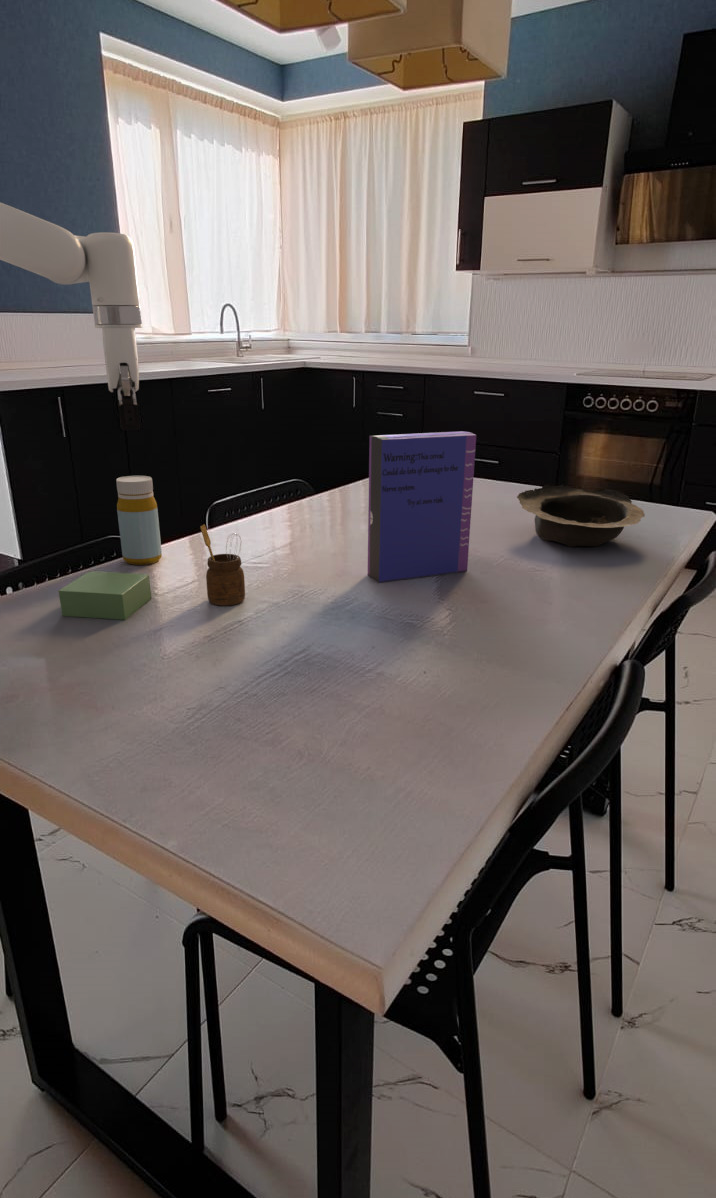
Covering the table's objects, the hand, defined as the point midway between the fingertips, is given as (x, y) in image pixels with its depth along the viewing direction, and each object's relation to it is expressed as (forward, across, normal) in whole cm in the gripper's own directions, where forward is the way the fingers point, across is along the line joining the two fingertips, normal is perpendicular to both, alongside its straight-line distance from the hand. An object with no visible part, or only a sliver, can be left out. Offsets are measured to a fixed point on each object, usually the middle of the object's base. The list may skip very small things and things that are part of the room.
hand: (130, 426), depth 133 cm
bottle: (+24, 0, -1) cm, 24 cm away
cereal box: (+25, +21, +46) cm, 56 cm away
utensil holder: (+24, +26, +11) cm, 38 cm away
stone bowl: (+25, +7, +87) cm, 91 cm away
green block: (+24, +25, -7) cm, 35 cm away
